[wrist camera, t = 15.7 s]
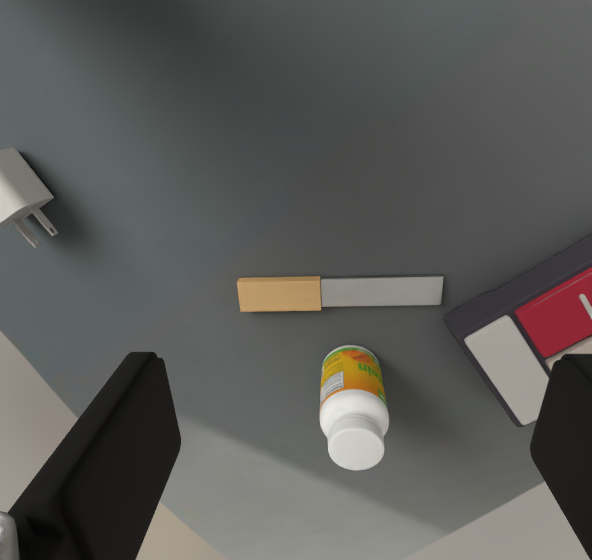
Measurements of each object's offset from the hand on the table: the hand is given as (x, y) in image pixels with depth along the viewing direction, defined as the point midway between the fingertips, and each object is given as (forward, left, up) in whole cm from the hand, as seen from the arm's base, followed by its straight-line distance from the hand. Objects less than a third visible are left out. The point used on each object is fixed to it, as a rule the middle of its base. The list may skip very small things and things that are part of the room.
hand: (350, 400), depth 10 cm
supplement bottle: (+1, -16, -23) cm, 28 cm away
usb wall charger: (-25, +1, -23) cm, 34 cm away
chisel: (0, -8, -23) cm, 24 cm away
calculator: (+18, -11, -23) cm, 31 cm away
